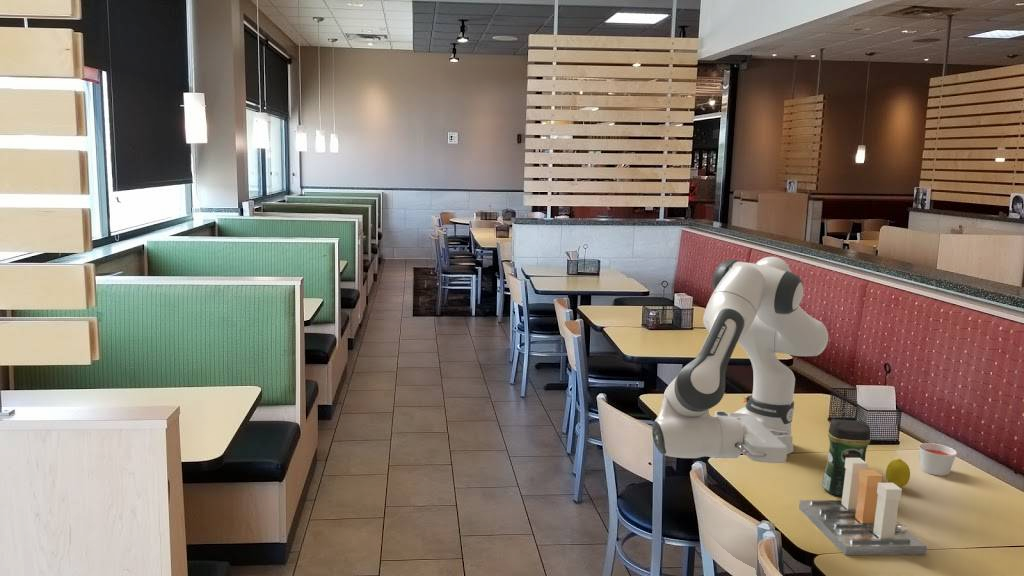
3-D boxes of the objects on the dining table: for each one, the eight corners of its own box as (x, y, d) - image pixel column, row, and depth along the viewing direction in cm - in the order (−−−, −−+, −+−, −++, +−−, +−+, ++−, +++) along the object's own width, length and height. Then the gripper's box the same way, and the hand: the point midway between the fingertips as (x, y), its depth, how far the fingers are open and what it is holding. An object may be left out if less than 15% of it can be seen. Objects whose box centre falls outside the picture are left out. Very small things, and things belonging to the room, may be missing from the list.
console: (845, 555, 167) (846, 541, 166) (798, 508, 188) (800, 496, 188) (925, 554, 168) (927, 541, 168) (870, 508, 190) (872, 496, 190)
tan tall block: (861, 524, 176) (867, 475, 174) (853, 517, 180) (859, 469, 178) (876, 524, 177) (882, 475, 175) (868, 517, 180) (874, 469, 178)
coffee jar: (857, 486, 203) (866, 417, 199) (867, 499, 195) (876, 427, 192) (818, 483, 204) (826, 414, 200) (826, 496, 196) (835, 424, 193)
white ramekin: (917, 474, 213) (920, 451, 211) (914, 462, 221) (917, 440, 220) (955, 480, 209) (958, 457, 208) (951, 468, 218) (954, 446, 216)
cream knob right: (880, 539, 170) (886, 489, 168) (871, 531, 173) (878, 482, 171) (895, 539, 170) (902, 489, 168) (886, 531, 173) (893, 482, 171)
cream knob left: (847, 509, 183) (853, 463, 181) (840, 503, 187) (845, 457, 185) (861, 509, 184) (867, 463, 182) (853, 503, 187) (859, 457, 185)
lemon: (910, 494, 199) (914, 464, 198) (887, 491, 200) (891, 461, 199) (904, 485, 204) (908, 456, 203) (881, 482, 205) (885, 453, 204)
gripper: (747, 441, 161) (812, 441, 162) (713, 407, 181) (772, 408, 182) (744, 471, 162) (809, 470, 163) (711, 434, 182) (769, 434, 183)
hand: (789, 437), depth 173 cm, fingers closed
